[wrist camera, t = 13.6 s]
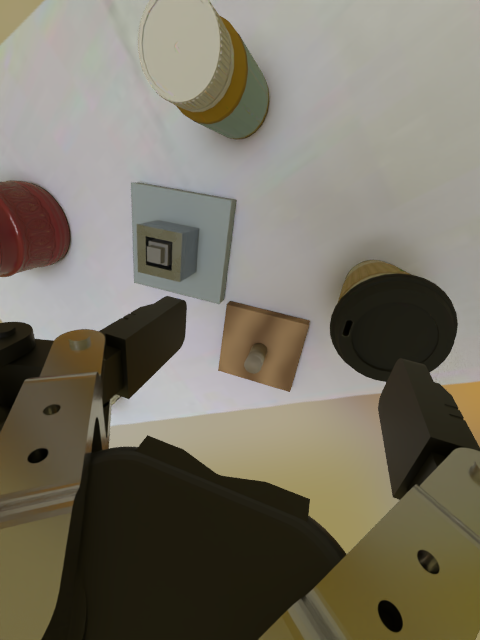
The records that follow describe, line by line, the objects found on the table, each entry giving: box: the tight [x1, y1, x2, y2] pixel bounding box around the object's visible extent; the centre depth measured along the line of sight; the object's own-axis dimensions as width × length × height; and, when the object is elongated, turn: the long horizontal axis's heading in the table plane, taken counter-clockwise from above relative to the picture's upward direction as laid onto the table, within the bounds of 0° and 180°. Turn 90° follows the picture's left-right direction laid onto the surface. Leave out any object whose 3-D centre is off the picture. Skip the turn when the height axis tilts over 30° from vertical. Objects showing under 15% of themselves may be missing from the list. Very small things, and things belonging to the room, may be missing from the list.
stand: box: [218, 301, 310, 392], centre depth 42 cm, size 12×12×6 cm
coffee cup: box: [330, 260, 458, 382], centre depth 30 cm, size 10×10×15 cm
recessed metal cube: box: [137, 220, 200, 282], centre depth 37 cm, size 6×6×5 cm
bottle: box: [138, 0, 269, 139], centre depth 26 cm, size 7×7×15 cm
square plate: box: [131, 183, 236, 304], centre depth 38 cm, size 14×14×8 cm
